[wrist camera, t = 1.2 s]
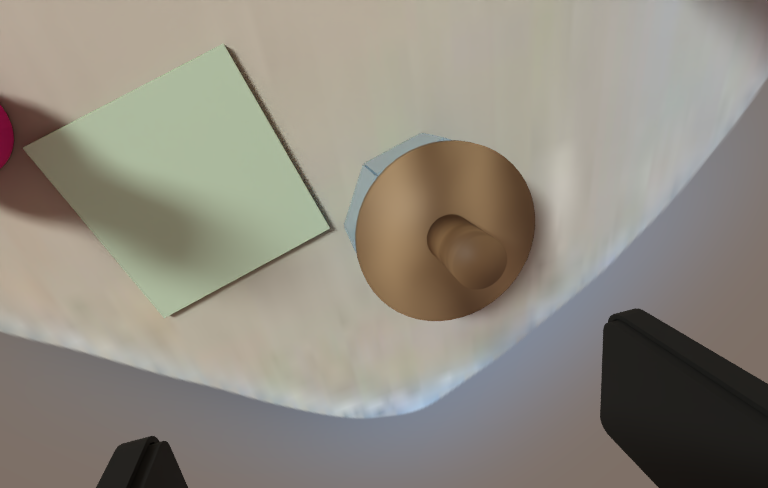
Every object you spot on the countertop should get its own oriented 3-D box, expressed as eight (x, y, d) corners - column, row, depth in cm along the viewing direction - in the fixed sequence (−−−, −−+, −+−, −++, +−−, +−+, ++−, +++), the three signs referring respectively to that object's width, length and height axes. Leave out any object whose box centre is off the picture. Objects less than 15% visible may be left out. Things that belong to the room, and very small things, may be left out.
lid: (493, 105, 27) (545, 105, 21) (550, 263, 31) (603, 296, 26) (320, 198, 26) (328, 222, 21) (403, 344, 31) (427, 395, 26)
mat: (224, 44, 27) (223, 43, 26) (329, 226, 32) (329, 228, 32) (28, 147, 26) (22, 147, 26) (166, 314, 32) (164, 318, 31)
